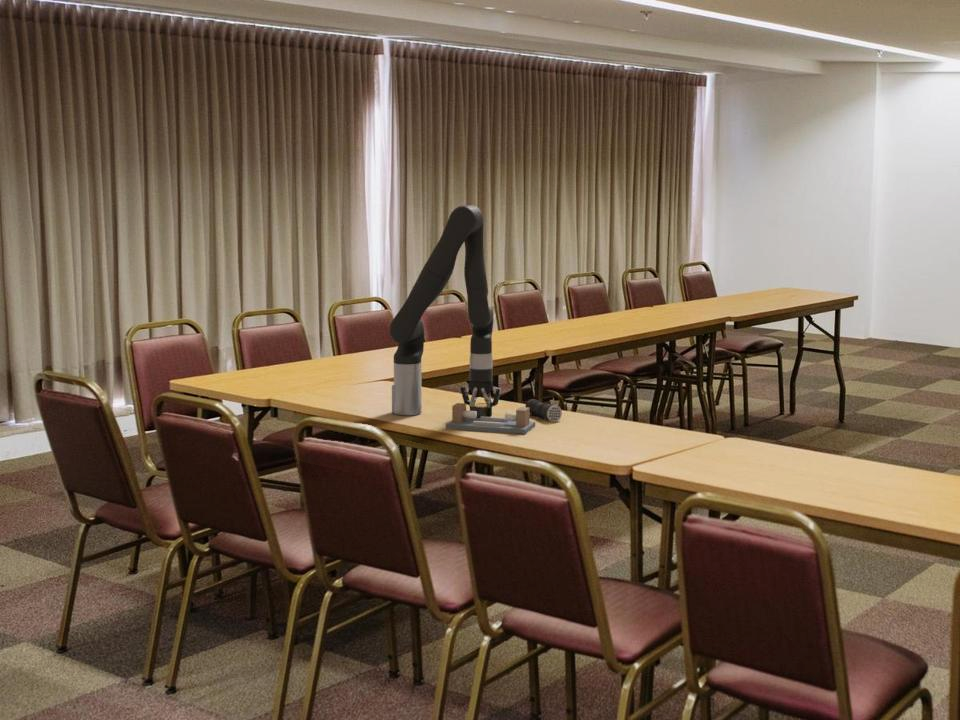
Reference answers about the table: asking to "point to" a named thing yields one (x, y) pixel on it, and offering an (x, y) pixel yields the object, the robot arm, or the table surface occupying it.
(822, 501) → the table surface
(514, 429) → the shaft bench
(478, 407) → the coupler
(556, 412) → the flashlight
